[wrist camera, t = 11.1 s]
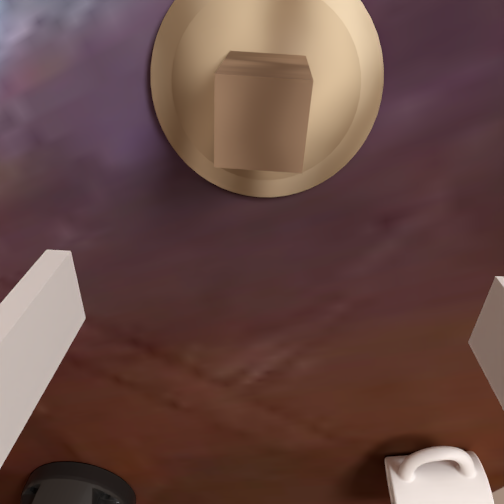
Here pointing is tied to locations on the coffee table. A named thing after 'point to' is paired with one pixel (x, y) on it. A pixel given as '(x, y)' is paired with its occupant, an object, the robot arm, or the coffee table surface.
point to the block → (261, 111)
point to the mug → (437, 477)
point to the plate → (277, 42)
